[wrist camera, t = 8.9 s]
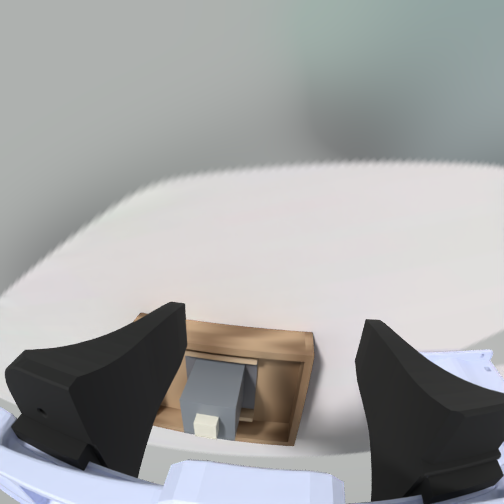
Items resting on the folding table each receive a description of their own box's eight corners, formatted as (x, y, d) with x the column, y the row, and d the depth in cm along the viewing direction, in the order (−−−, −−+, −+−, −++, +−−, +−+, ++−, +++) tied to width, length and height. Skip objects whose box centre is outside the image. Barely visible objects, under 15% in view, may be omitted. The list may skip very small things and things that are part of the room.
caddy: (312, 332, 24) (314, 355, 21) (294, 422, 27) (293, 446, 25) (140, 312, 25) (125, 331, 22) (155, 403, 29) (146, 423, 26)
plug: (245, 364, 25) (233, 418, 19) (243, 398, 26) (232, 450, 20) (196, 358, 25) (175, 409, 19) (199, 391, 26) (181, 441, 21)
